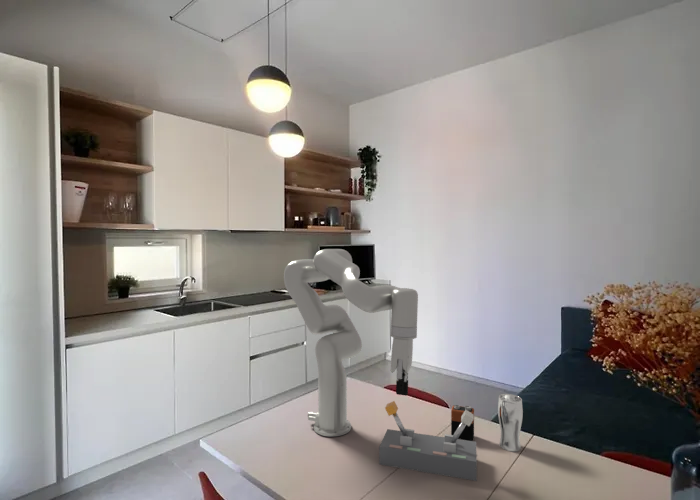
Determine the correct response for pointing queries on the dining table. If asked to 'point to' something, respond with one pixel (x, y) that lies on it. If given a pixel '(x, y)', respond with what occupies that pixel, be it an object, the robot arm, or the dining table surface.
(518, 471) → the dining table surface
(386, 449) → the switch box
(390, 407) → the orange lever
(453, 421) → the battery
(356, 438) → the dining table surface
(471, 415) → the on lever
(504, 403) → the beer glass
